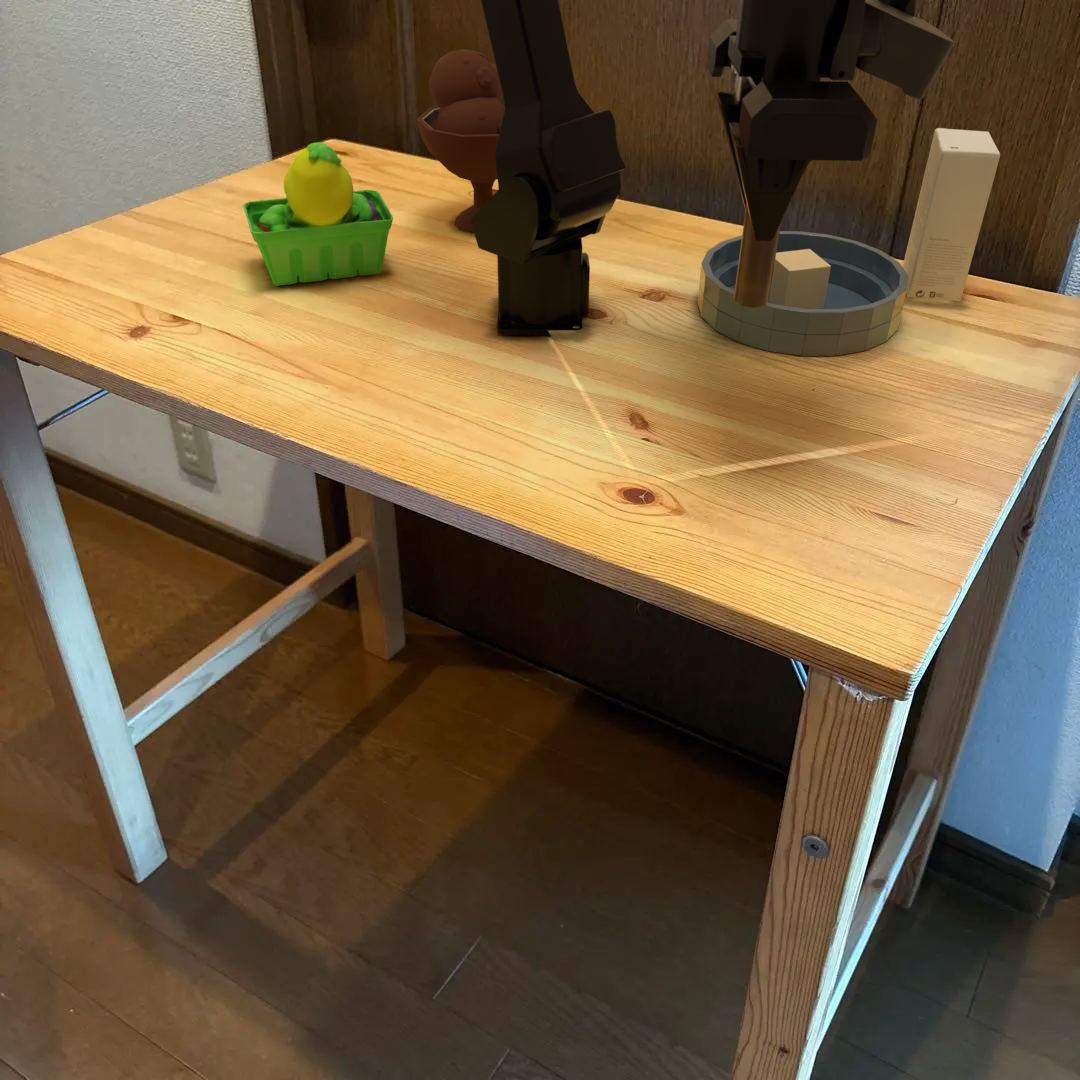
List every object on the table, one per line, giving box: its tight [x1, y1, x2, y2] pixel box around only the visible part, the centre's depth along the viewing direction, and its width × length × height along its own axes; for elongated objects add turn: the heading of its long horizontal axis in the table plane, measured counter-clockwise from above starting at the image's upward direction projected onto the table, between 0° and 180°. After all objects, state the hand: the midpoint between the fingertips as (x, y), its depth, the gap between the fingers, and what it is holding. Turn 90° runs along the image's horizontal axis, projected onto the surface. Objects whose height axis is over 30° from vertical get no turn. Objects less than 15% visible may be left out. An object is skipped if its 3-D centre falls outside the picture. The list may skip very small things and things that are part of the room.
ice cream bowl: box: [416, 48, 505, 235], centre depth 92 cm, size 11×11×15 cm
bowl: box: [696, 230, 908, 357], centre depth 80 cm, size 15×15×4 cm
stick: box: [734, 204, 782, 308], centre depth 63 cm, size 2×2×11 cm
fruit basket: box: [242, 142, 394, 287], centre depth 84 cm, size 11×9×11 cm
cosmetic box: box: [902, 127, 1001, 302], centre depth 81 cm, size 6×4×12 cm
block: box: [769, 249, 831, 309], centre depth 80 cm, size 4×4×4 cm
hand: (760, 232), depth 63 cm, fingers closed on stick, 2 cm apart
